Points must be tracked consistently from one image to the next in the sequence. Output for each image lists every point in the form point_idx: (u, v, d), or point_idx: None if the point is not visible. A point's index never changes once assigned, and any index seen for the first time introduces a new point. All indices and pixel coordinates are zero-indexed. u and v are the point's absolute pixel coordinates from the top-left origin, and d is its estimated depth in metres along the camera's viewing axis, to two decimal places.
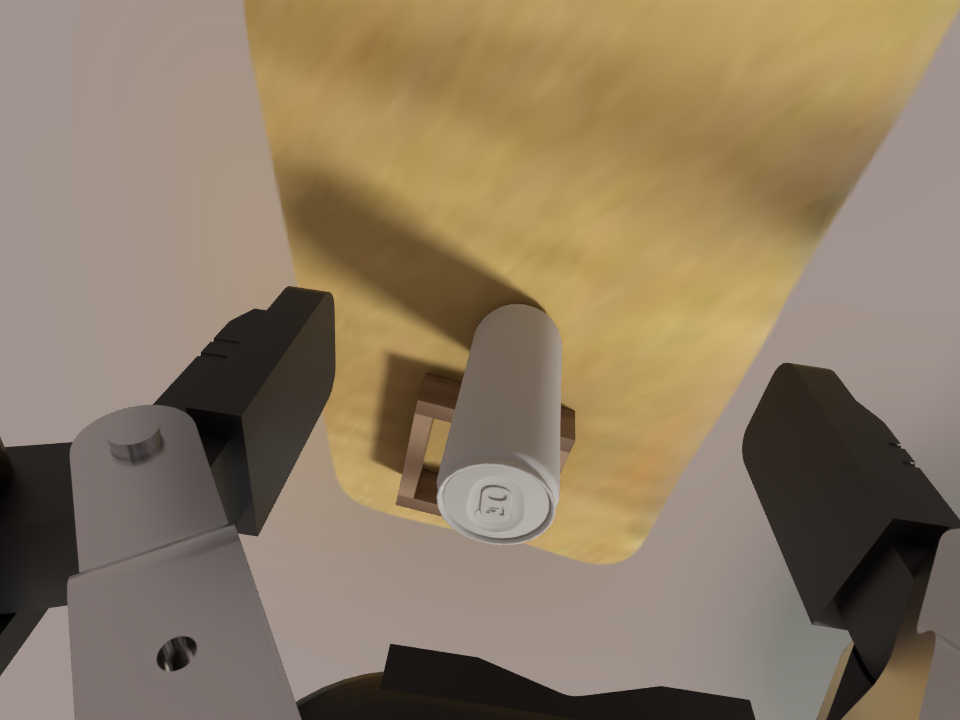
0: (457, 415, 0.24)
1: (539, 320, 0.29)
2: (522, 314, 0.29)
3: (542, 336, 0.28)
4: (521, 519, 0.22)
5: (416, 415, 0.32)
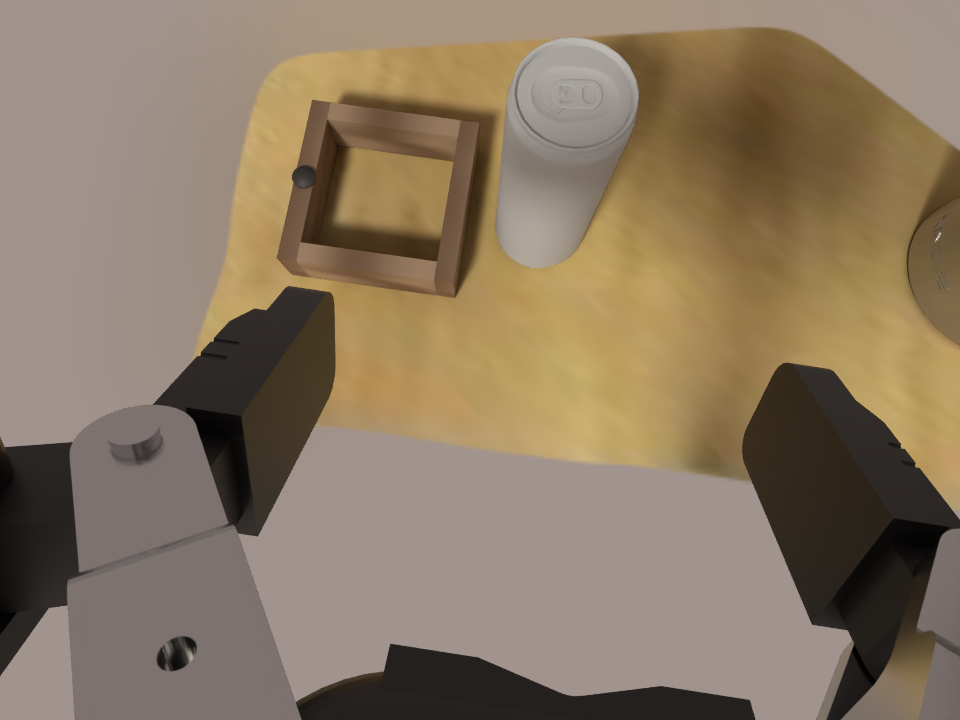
0: None
1: None
2: None
3: (586, 228, 0.29)
4: (558, 121, 0.20)
5: (458, 121, 0.31)
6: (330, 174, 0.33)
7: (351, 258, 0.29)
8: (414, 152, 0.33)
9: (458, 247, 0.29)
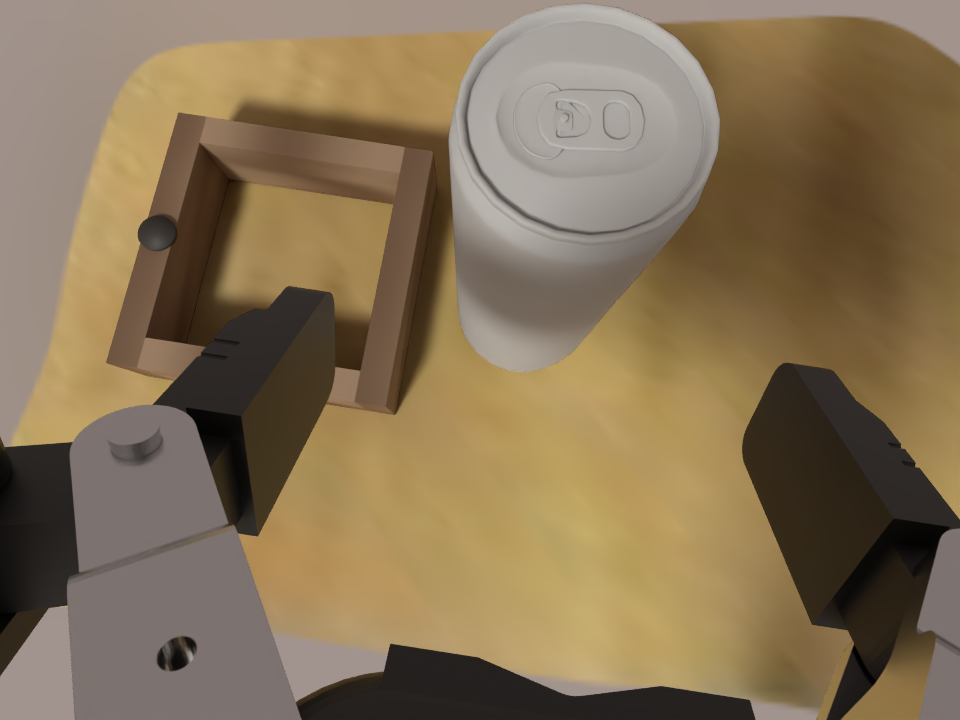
0: None
1: None
2: None
3: None
4: (551, 176, 0.10)
5: (401, 149, 0.20)
6: (214, 223, 0.22)
7: None
8: (340, 191, 0.22)
9: (395, 347, 0.19)
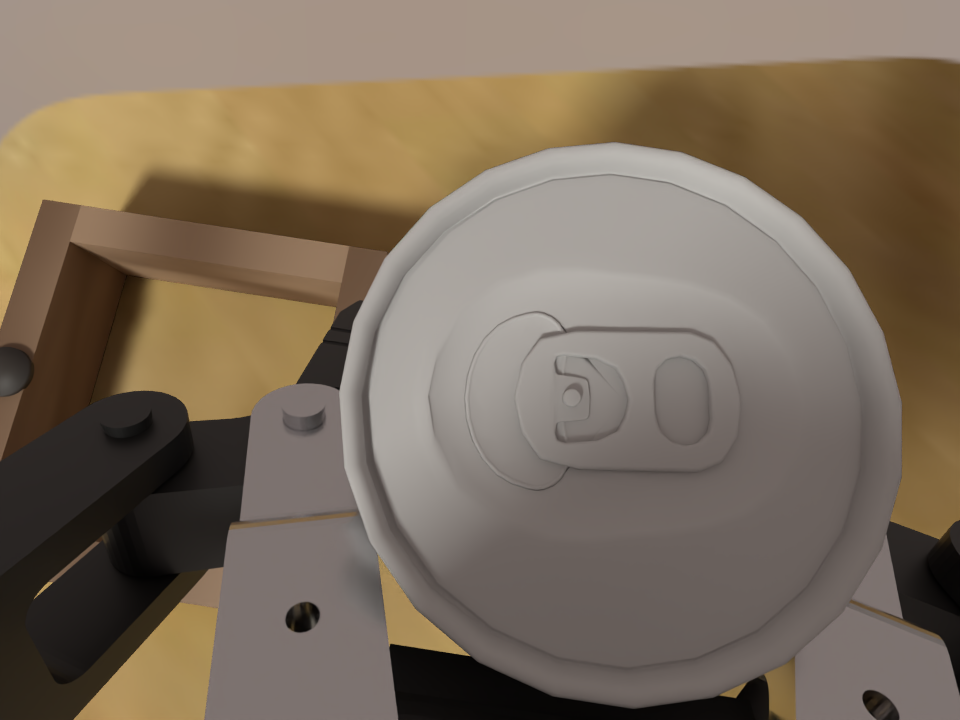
0: None
1: None
2: None
3: None
4: (546, 534, 0.04)
5: (343, 249, 0.15)
6: (103, 336, 0.17)
7: None
8: (270, 293, 0.17)
9: None
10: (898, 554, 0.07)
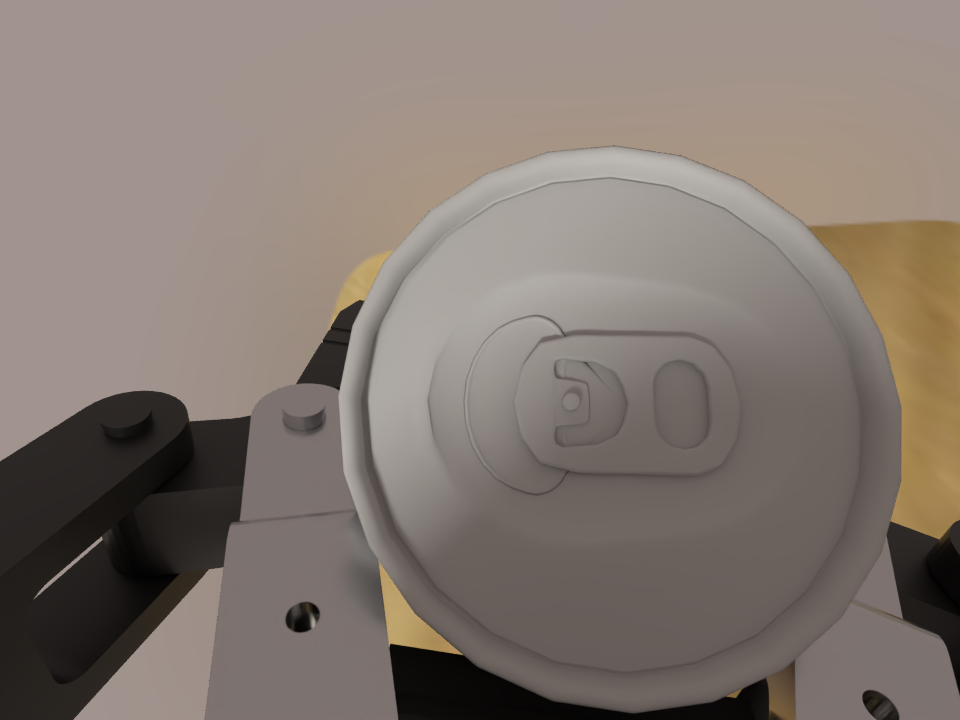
0: None
1: None
2: None
3: None
4: (545, 538, 0.04)
5: None
6: None
7: None
8: None
9: None
10: (898, 554, 0.07)
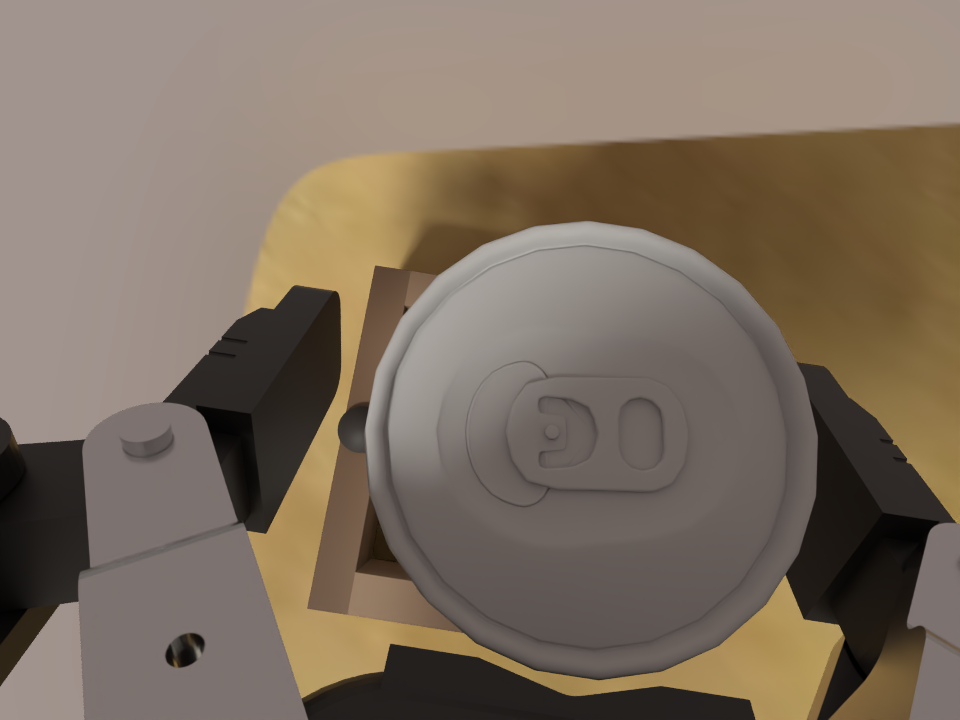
0: None
1: None
2: None
3: None
4: (530, 542, 0.06)
5: None
6: None
7: None
8: None
9: None
10: None
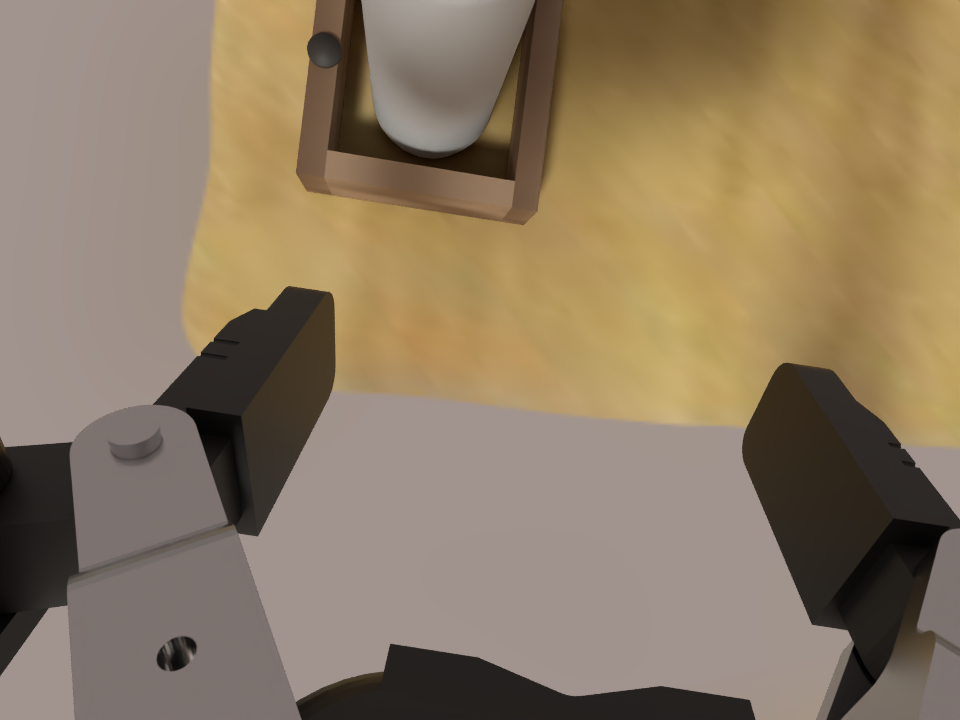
0: None
1: None
2: None
3: (493, 105, 0.21)
4: None
5: None
6: (349, 44, 0.23)
7: (400, 175, 0.21)
8: None
9: (541, 161, 0.22)
10: None
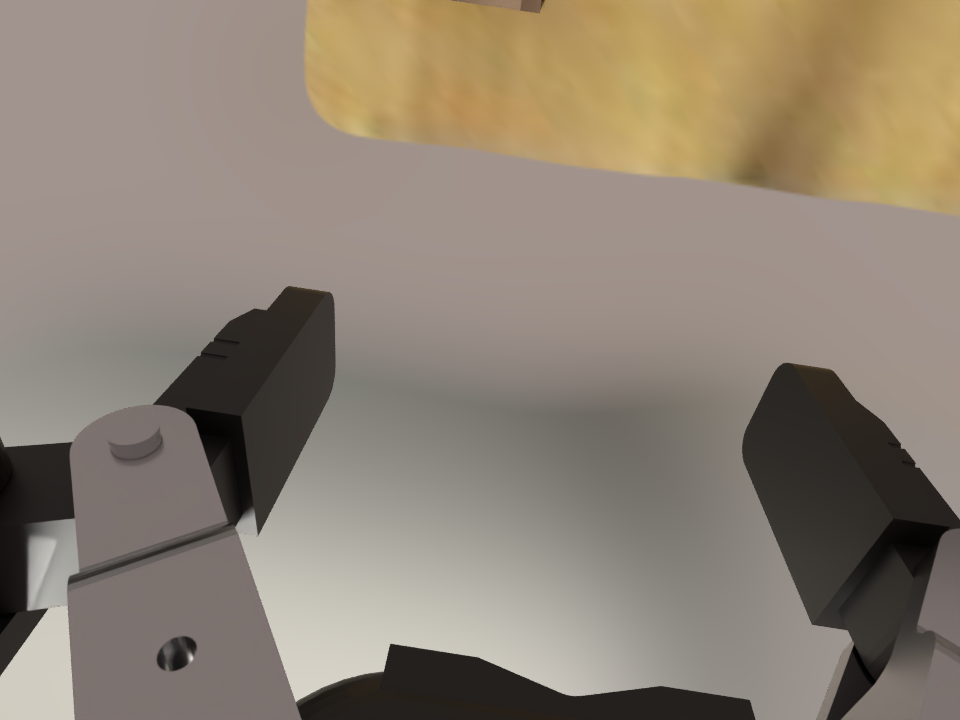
0: None
1: None
2: None
3: None
4: None
5: None
6: None
7: None
8: None
9: None
10: None
